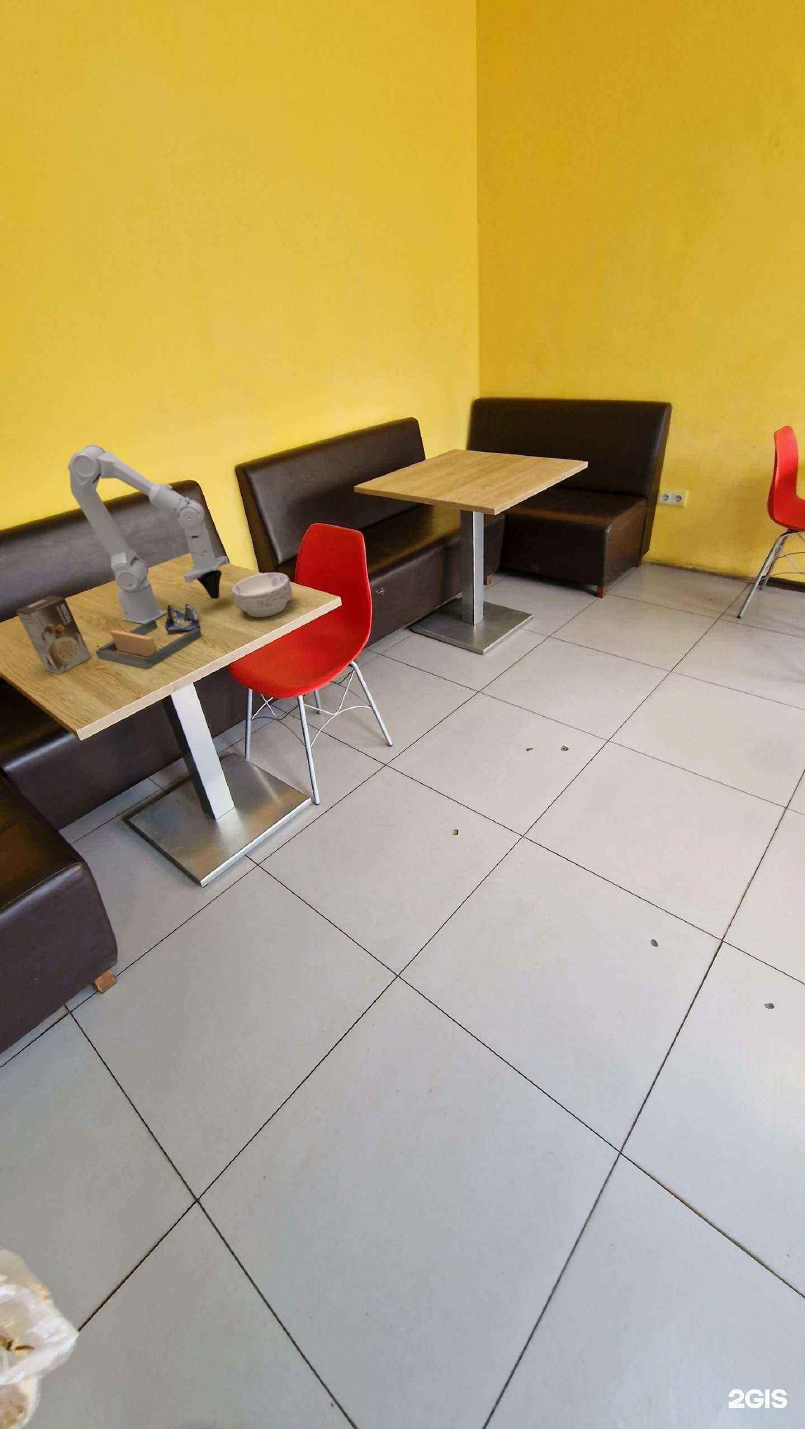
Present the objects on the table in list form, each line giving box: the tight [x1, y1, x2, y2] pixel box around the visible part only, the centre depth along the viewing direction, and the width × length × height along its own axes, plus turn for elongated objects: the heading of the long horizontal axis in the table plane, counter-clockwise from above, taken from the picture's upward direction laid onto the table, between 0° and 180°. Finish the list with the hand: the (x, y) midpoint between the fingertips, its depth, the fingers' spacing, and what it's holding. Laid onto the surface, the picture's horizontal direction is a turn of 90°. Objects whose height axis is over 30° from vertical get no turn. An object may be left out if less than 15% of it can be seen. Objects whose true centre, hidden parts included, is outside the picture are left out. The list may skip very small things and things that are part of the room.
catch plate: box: [109, 629, 158, 657], centre depth 154 cm, size 14×1×5 cm, turn 61°
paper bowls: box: [231, 572, 293, 618], centre depth 167 cm, size 15×15×8 cm
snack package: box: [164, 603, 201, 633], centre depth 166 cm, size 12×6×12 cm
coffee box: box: [15, 595, 92, 675], centre depth 150 cm, size 9×6×16 cm
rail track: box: [95, 619, 203, 670], centre depth 157 cm, size 18×18×2 cm
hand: (215, 597), depth 173 cm, fingers closed
